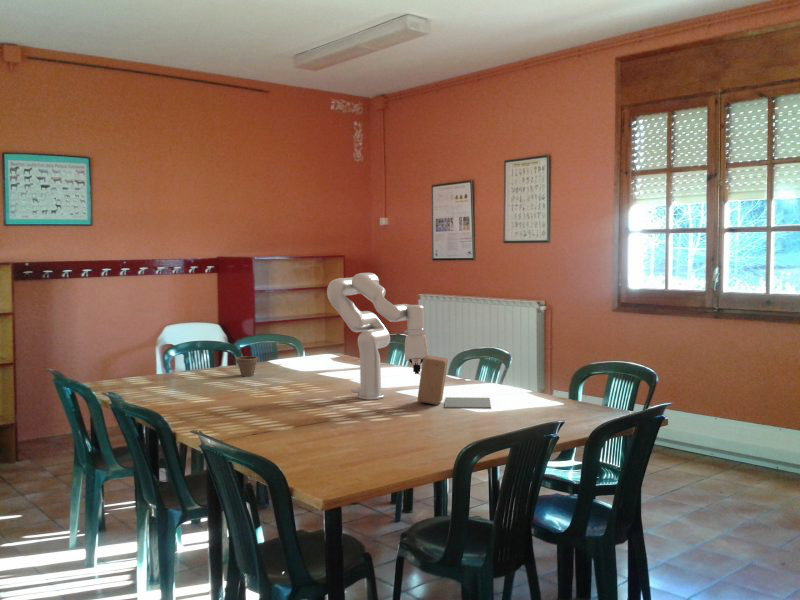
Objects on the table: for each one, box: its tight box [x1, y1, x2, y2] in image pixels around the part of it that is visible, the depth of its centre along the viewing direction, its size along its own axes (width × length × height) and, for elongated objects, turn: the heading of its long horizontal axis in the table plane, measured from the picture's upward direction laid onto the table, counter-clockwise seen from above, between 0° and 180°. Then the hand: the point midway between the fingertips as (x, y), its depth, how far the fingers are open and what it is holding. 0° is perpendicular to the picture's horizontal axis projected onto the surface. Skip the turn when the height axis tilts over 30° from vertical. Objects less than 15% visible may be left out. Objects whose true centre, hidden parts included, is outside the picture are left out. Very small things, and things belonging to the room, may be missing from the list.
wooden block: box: [417, 354, 449, 406], centre depth 343 cm, size 10×10×20 cm
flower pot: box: [236, 355, 259, 378], centre depth 420 cm, size 12×11×10 cm
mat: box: [444, 396, 492, 409], centre depth 343 cm, size 20×20×1 cm
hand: (416, 373), depth 343 cm, fingers closed
